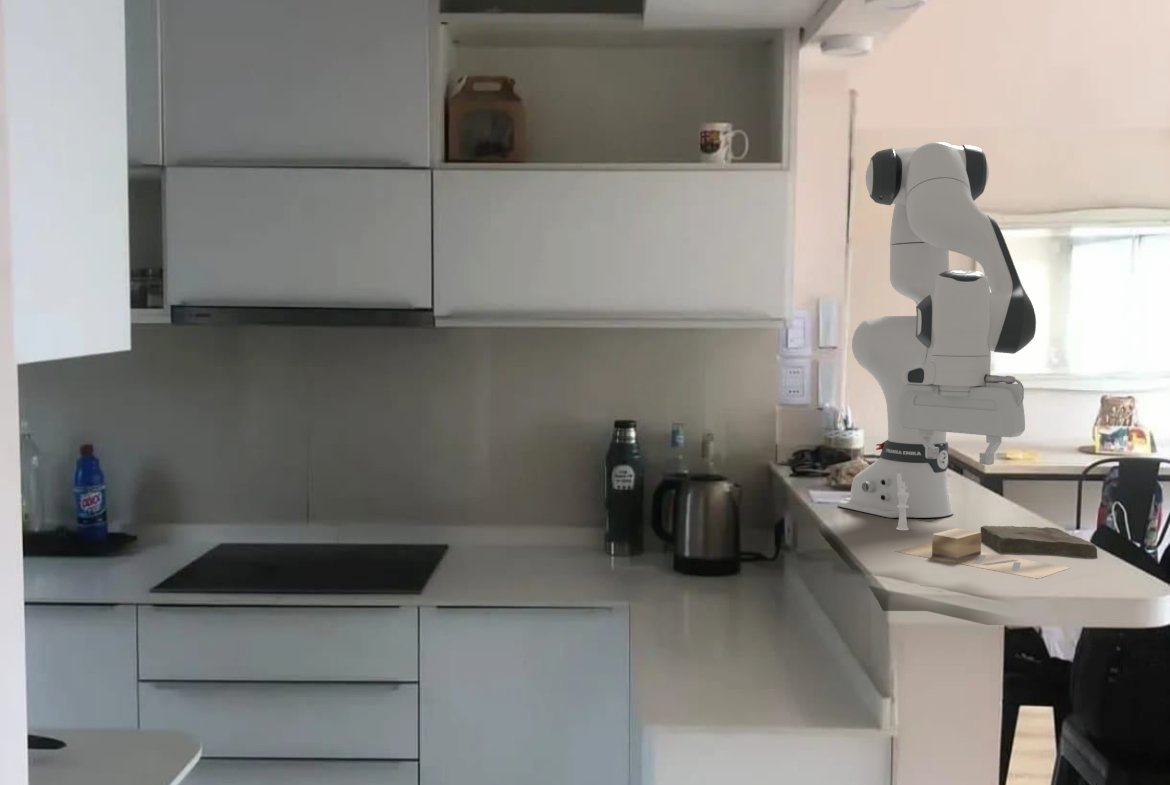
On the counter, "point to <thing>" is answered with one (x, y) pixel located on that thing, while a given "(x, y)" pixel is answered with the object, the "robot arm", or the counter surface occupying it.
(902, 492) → the chess piece
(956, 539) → the block
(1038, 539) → the marble piece
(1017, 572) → the board
